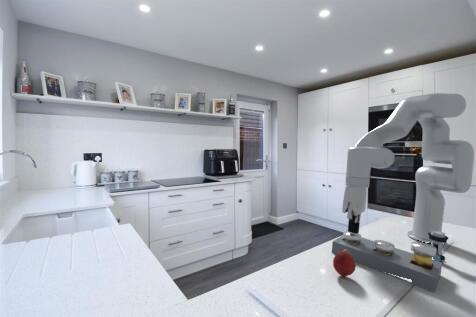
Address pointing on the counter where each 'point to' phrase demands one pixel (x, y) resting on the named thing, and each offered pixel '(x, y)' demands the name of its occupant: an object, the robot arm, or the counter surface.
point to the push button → (438, 244)
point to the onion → (344, 263)
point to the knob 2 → (423, 254)
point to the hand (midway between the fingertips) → (353, 232)
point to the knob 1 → (352, 237)
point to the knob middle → (383, 247)
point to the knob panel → (391, 262)
